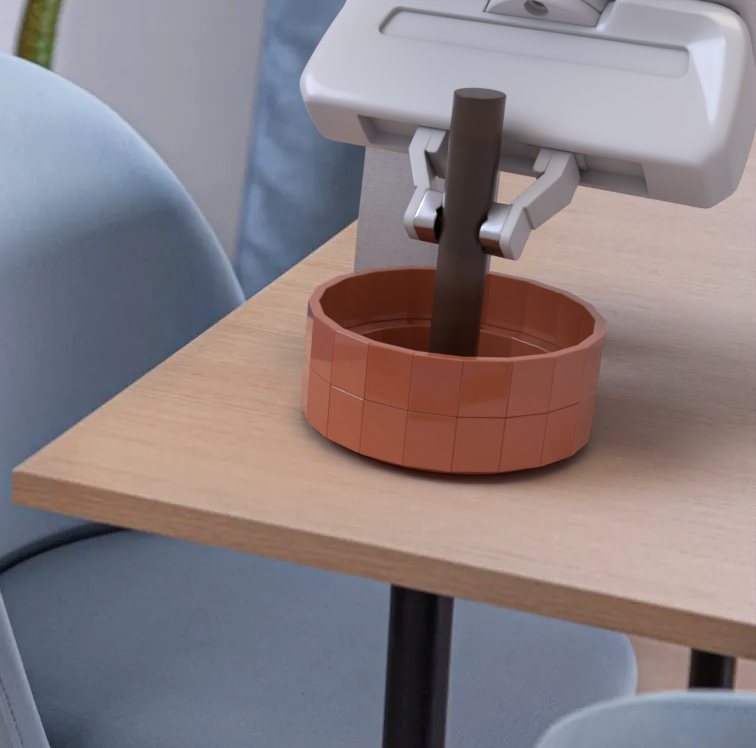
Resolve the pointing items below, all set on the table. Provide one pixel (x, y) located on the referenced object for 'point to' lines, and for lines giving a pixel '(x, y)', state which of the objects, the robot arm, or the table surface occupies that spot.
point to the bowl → (451, 373)
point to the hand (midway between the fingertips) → (459, 243)
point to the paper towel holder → (466, 220)
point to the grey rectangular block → (390, 214)
